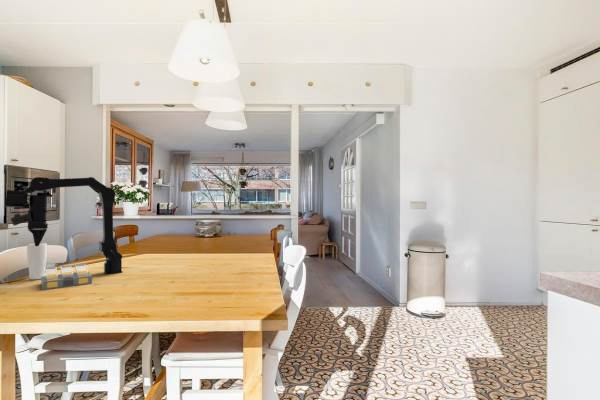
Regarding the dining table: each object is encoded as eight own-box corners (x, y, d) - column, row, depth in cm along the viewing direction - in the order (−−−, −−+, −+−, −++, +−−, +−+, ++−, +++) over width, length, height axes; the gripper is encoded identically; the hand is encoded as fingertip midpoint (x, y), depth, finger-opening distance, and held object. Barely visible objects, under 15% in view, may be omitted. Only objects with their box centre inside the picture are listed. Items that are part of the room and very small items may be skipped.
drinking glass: (51, 277, 147) (51, 242, 147) (37, 280, 140) (37, 244, 141) (37, 277, 148) (37, 243, 148) (22, 280, 141) (22, 244, 141)
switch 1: (56, 269, 137) (56, 266, 137) (57, 278, 130) (57, 275, 130) (45, 270, 135) (45, 267, 135) (46, 279, 128) (46, 276, 128)
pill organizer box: (87, 278, 146) (87, 270, 146) (92, 283, 136) (92, 275, 136) (41, 283, 135) (41, 275, 135) (42, 290, 126) (42, 281, 126)
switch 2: (70, 267, 140) (71, 264, 140) (73, 276, 134) (73, 273, 133) (60, 268, 138) (60, 265, 138) (62, 277, 131) (62, 274, 131)
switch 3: (85, 266, 144) (85, 263, 143) (88, 274, 137) (88, 271, 137) (74, 267, 141) (75, 264, 141) (77, 276, 135) (77, 272, 134)
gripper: (13, 207, 141) (11, 244, 141) (11, 207, 127) (9, 248, 127) (46, 207, 148) (45, 242, 148) (48, 207, 134) (46, 247, 134)
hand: (36, 245), depth 139 cm, fingers open, 8 cm apart
